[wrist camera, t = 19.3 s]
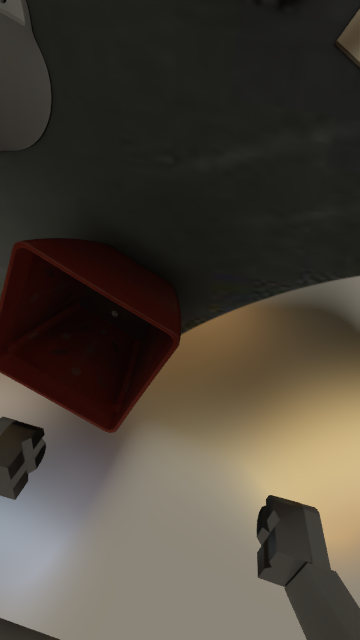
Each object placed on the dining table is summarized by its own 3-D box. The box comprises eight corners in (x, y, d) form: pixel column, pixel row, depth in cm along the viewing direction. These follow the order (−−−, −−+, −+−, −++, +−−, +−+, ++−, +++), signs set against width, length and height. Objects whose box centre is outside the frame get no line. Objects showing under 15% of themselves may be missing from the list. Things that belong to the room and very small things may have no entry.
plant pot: (93, 209, 42) (12, 236, 28) (204, 280, 44) (183, 340, 30) (56, 306, 52) (-17, 364, 38) (149, 361, 54) (112, 436, 39)
